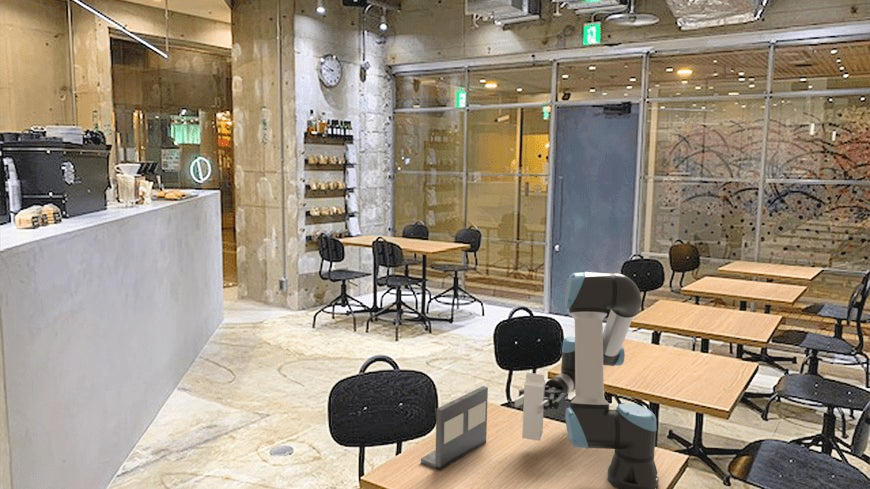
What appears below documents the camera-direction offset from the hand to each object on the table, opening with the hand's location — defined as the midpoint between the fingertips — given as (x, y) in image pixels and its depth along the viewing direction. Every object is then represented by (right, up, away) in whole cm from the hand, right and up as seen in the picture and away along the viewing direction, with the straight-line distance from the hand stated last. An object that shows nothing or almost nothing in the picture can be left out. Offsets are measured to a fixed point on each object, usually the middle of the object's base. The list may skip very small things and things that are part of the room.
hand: (526, 406), depth 207 cm
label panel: (-24, -16, +3) cm, 29 cm away
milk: (+3, -12, +6) cm, 13 cm away
